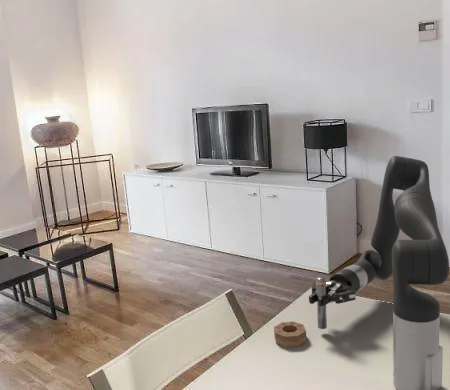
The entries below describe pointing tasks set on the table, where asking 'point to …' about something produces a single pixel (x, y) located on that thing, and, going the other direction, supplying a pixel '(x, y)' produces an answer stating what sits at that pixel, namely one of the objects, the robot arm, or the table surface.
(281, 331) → the bead
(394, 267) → the robot arm
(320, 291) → the banded metal pin
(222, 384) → the table surface
